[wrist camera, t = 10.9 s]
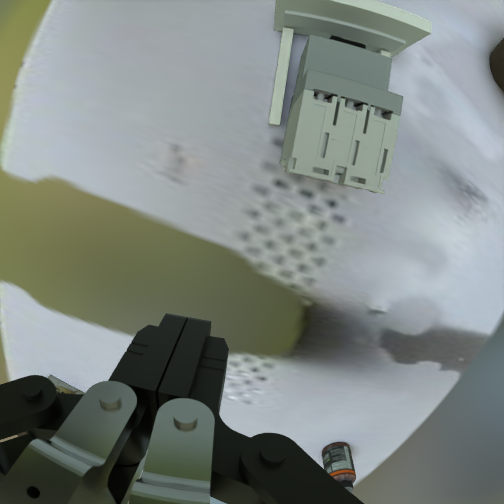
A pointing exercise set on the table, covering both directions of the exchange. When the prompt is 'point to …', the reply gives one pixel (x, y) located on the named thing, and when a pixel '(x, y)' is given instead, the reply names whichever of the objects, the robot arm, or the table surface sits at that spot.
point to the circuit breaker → (342, 115)
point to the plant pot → (498, 64)
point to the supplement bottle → (339, 464)
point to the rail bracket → (342, 31)
